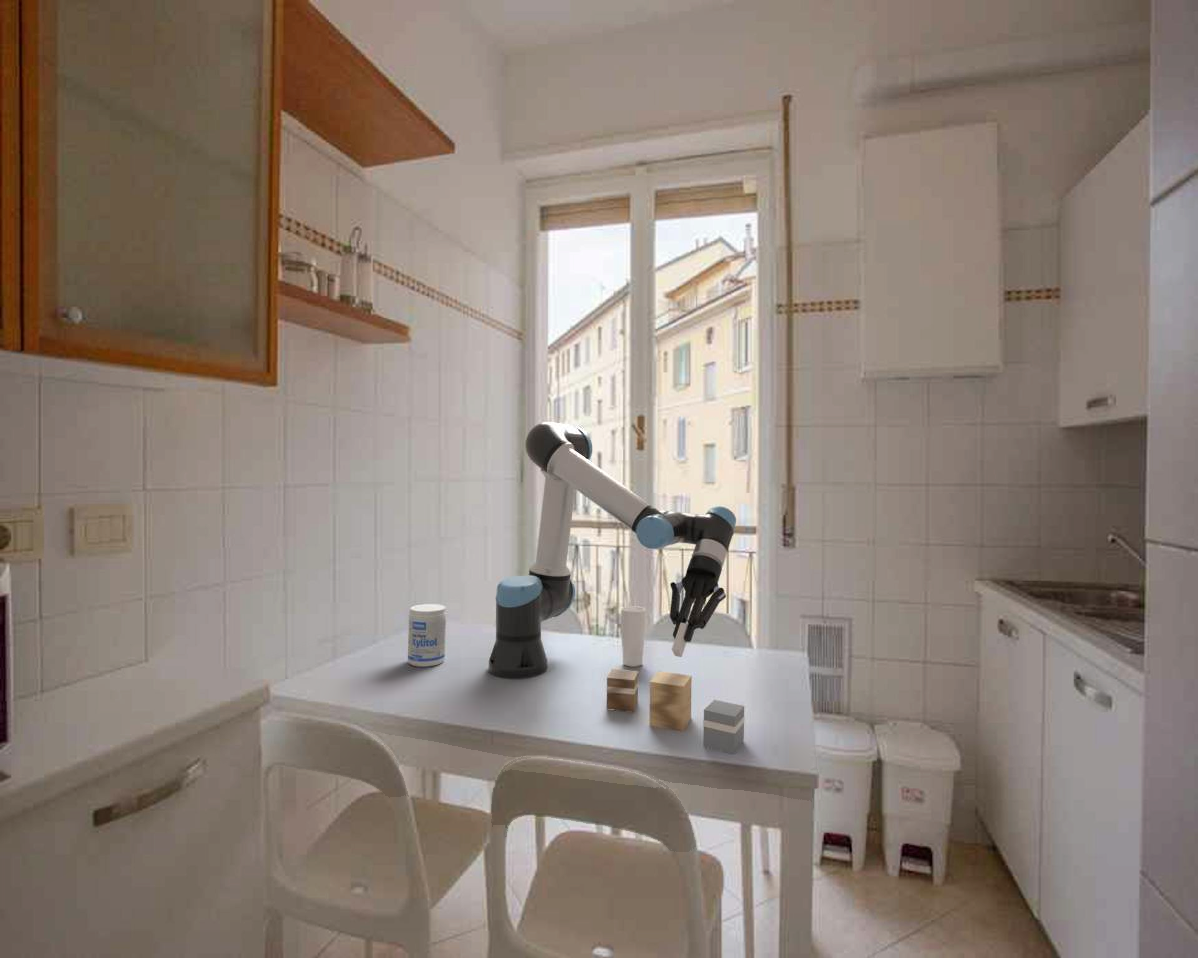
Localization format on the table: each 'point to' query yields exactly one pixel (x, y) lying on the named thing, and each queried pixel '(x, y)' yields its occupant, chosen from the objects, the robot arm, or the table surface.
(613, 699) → the walnut block
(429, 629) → the supplement tub
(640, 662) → the drinking glass
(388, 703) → the table surface
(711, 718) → the grey block
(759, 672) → the table surface
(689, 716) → the oak block
